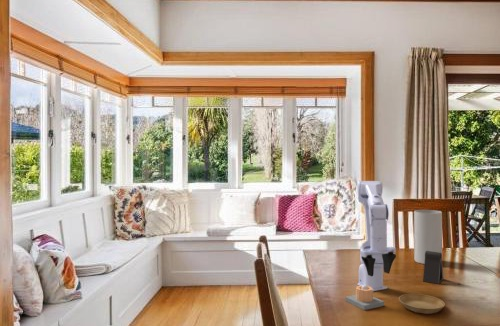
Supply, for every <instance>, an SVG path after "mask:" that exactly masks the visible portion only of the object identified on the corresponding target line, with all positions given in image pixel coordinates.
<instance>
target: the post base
mask: <svg viewBox="0 0 500 326" xmlns="http://www.w3.org/2000/svg"><path fill="white" fill-rule="evenodd" d="M362 289H363V290H367V286H366V285H363V286H362ZM345 302H347V303H349V304H351V305H353V306H355V307H356V308H359V309H360V310H363V311H367V310H371V309H376V308H380V307H385V301H384V300H381V299H379V298H377V297H375V296H373V300H372V301H370V302H362V301H358V300H357V299H356V294H353V295H348V296H347V295H346V296H345Z"/></svg>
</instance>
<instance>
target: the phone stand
mask: <svg viewBox="0 0 500 326" xmlns="http://www.w3.org/2000/svg"><path fill="white" fill-rule="evenodd" d="M423 265H424V267H423V277H422V282H425V283H429V284H436V285H439V284H441V282H443V280H444V279H445V278H444V267H443V252H442V253H439V252H431V251H426V252H425V264H423Z"/></svg>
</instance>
